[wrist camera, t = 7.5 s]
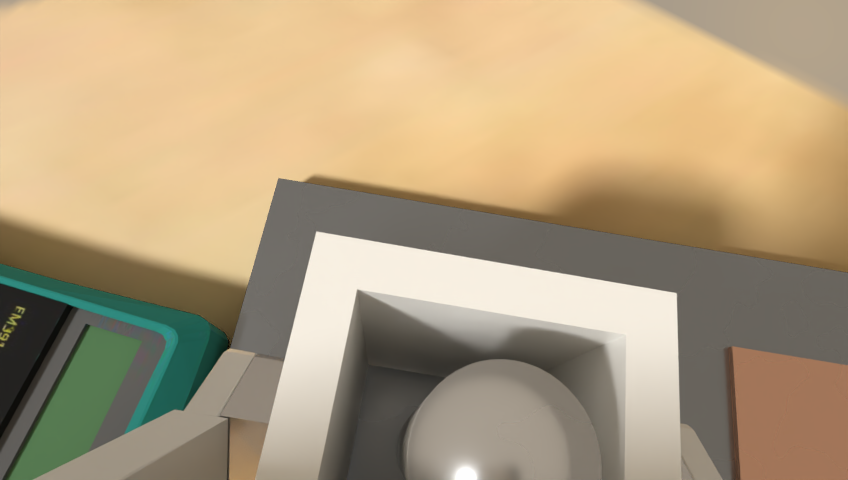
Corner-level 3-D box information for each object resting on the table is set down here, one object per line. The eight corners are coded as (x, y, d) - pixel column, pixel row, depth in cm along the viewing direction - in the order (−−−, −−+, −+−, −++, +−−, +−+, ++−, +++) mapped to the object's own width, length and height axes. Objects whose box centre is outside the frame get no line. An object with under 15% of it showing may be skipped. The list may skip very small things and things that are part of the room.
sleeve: (300, 551, 12) (204, 683, 5) (346, 332, 14) (316, 231, 7) (520, 587, 12) (688, 759, 5) (536, 364, 14) (677, 293, 7)
